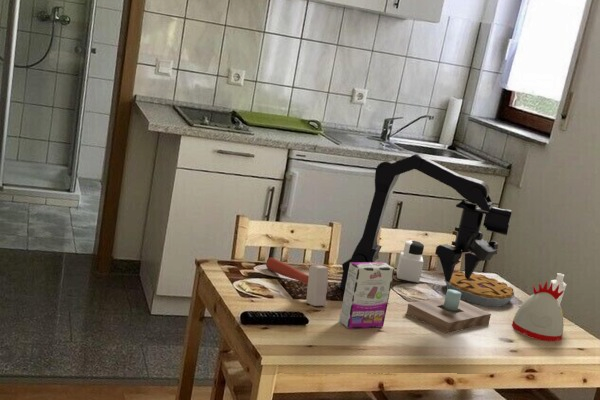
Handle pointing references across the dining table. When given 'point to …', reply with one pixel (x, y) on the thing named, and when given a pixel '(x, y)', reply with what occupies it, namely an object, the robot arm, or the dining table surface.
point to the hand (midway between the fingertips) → (457, 279)
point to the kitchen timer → (541, 315)
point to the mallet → (305, 279)
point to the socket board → (448, 315)
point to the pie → (481, 289)
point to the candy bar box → (366, 294)
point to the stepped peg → (452, 301)
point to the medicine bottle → (411, 261)
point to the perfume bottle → (561, 285)
